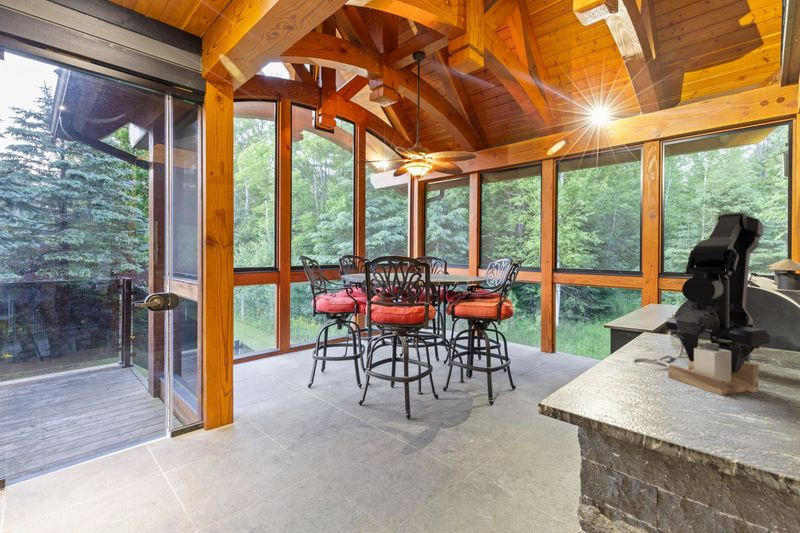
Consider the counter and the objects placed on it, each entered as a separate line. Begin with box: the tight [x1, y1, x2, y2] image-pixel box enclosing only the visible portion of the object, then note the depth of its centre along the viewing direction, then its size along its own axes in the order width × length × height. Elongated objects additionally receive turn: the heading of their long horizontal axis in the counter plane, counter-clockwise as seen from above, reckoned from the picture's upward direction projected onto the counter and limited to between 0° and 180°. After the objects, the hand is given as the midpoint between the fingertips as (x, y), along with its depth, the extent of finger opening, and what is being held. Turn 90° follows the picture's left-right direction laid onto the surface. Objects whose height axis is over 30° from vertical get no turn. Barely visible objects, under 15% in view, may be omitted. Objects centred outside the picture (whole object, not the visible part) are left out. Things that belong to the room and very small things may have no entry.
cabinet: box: [694, 342, 731, 383], centre depth 86 cm, size 5×4×8 cm
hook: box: [630, 334, 685, 371], centre depth 104 cm, size 7×9×20 cm
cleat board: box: [667, 359, 760, 396], centre depth 87 cm, size 9×14×6 cm, turn 14°
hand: (712, 366), depth 86 cm, fingers open, 9 cm apart
